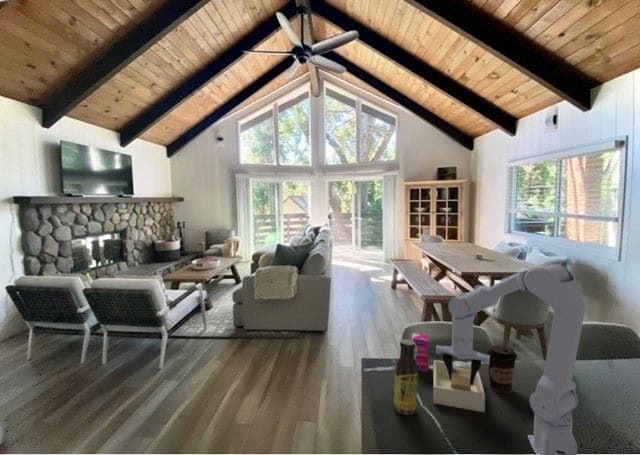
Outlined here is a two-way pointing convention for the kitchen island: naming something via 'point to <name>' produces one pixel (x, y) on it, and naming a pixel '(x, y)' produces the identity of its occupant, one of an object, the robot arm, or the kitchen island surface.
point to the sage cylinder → (461, 365)
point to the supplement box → (421, 351)
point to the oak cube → (460, 379)
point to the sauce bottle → (406, 380)
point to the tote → (456, 390)
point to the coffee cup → (501, 368)
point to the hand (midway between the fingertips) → (461, 381)
